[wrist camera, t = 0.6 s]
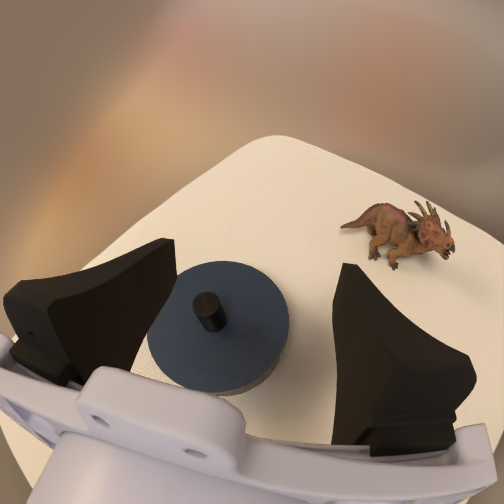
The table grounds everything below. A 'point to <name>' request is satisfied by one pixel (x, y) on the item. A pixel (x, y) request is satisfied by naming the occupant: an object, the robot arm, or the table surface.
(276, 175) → the table surface
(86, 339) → the robot arm
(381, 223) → the dinosaur figurine
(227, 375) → the lid
